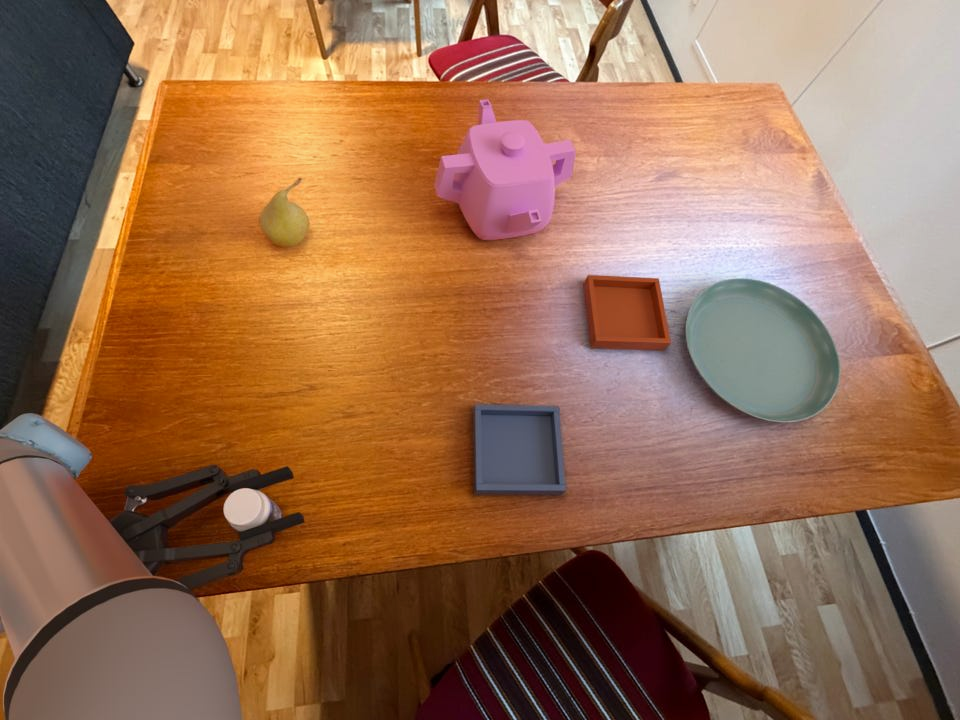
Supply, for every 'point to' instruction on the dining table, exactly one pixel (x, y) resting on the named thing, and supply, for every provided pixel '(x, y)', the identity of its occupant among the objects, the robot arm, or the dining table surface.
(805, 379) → the saucer
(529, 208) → the teapot
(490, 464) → the blue tray
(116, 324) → the dining table surface
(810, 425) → the dining table surface
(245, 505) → the pill bottle
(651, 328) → the burnt orange tray
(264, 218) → the fruit
